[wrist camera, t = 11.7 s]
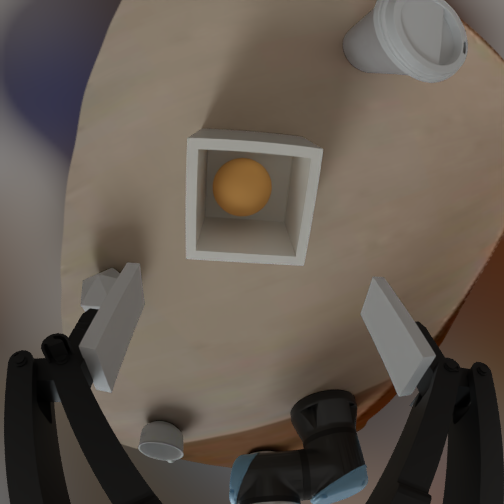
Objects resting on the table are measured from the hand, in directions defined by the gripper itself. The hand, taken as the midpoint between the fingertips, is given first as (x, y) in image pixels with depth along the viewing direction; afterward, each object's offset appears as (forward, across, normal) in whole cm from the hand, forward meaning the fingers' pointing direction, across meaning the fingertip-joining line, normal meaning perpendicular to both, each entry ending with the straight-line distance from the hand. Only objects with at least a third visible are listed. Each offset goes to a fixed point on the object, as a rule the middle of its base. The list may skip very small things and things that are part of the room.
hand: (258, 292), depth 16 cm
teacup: (+24, +16, +61) cm, 68 cm away
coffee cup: (+23, -13, -20) cm, 33 cm away
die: (+24, +19, +16) cm, 34 cm away
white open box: (+23, 0, -1) cm, 23 cm away
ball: (+22, 0, -1) cm, 22 cm away
